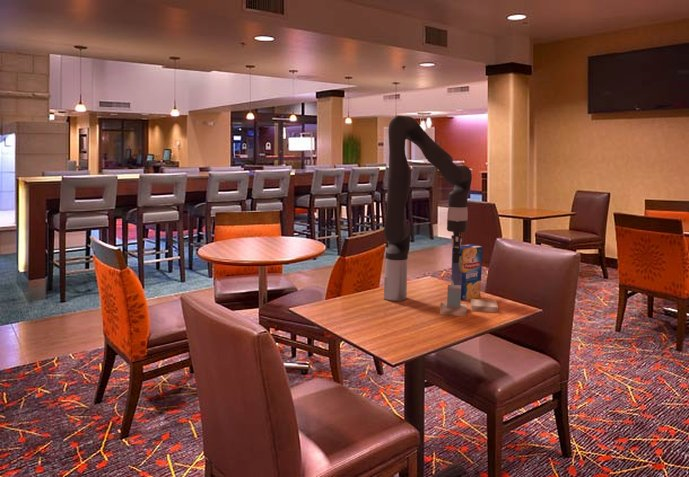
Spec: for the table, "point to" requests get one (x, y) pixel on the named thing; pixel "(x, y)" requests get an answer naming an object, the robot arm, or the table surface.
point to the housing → (454, 296)
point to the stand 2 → (484, 305)
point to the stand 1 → (453, 310)
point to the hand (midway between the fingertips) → (455, 260)
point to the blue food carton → (468, 271)
